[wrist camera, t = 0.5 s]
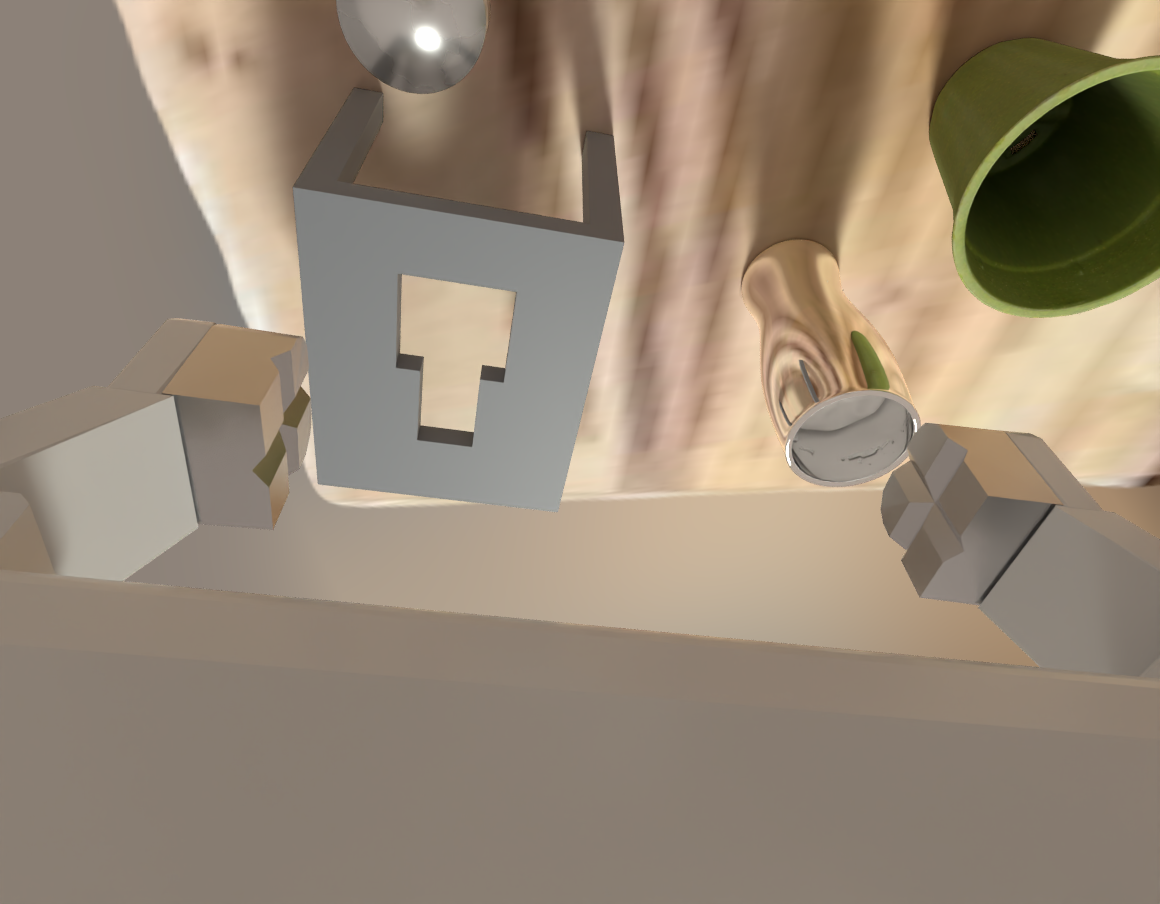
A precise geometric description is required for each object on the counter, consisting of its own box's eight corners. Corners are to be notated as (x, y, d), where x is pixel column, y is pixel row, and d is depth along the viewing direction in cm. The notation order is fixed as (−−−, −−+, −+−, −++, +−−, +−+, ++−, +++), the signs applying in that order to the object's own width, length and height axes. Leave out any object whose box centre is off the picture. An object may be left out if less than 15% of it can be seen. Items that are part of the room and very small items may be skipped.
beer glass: (814, 335, 51) (880, 499, 40) (718, 316, 49) (759, 479, 39) (864, 244, 46) (954, 401, 35) (759, 220, 45) (818, 375, 34)
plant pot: (962, -47, 35) (1077, 18, 27) (1168, 22, 38) (1333, 101, 29) (841, 186, 43) (903, 291, 35) (1017, 232, 45) (1114, 341, 37)
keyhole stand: (354, 87, 39) (292, 187, 31) (613, 135, 41) (624, 242, 33) (360, 358, 52) (317, 484, 43) (560, 386, 53) (557, 512, 45)
